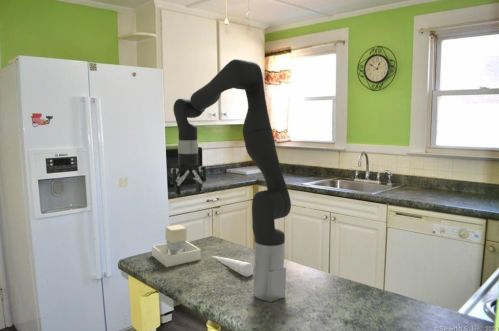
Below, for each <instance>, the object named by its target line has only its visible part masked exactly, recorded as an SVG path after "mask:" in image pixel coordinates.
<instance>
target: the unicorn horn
mask: <svg viewBox="0 0 499 331" xmlns="http://www.w3.org/2000/svg"><path fill="white" fill-rule="evenodd" d="M212 258H214V260H217V261H218V262H219V263H222V264H223V265H225V266H226V267H229V269H231V270H232V271H233V272H236V273H238V274H240V275H241V276H243V277H245V278H246V277H247V278H248V277H250V276H252V275H253V274H254V264H252V263H251V262H246V261H241V260H238V259H237V260H236V259H233V258H227V257H221V256H215V255H212Z"/></svg>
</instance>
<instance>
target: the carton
mask: <svg viewBox="0 0 499 331" xmlns="http://www.w3.org/2000/svg"><path fill="white" fill-rule="evenodd" d="M164 228H165V240H166V242H167V241H169V242H170V243H177V242H182V241H187V227H185V226H184V225H182V224H175V225H168V226H165V227H164ZM187 242H188V241H187Z"/></svg>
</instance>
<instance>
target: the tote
mask: <svg viewBox="0 0 499 331" xmlns="http://www.w3.org/2000/svg"><path fill="white" fill-rule="evenodd" d="M151 256H152V257H153V258H154V259H155V260H157V261H158V262H160V263H161V264H162V265H163V266H164V267H166V268H168V267H173V266H178V265H182V264H185V263H186V264H187V263H191V262H196V261H200V260H201V258H202V249H201V248H199V247H198V246H196V245H194V244H192V243H191V242H189V241H185V252H183V253H179V254H174V255H169V256H167V242H165V243H160V244H156V245H155V244H154V245H152V246H151Z"/></svg>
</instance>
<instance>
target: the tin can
mask: <svg viewBox="0 0 499 331" xmlns="http://www.w3.org/2000/svg"><path fill="white" fill-rule="evenodd" d="M166 243H167V256H169V255H174V254H179V253H183V252H185V241H182V242H177V243H170V242H169V241H167V240H166Z"/></svg>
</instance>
